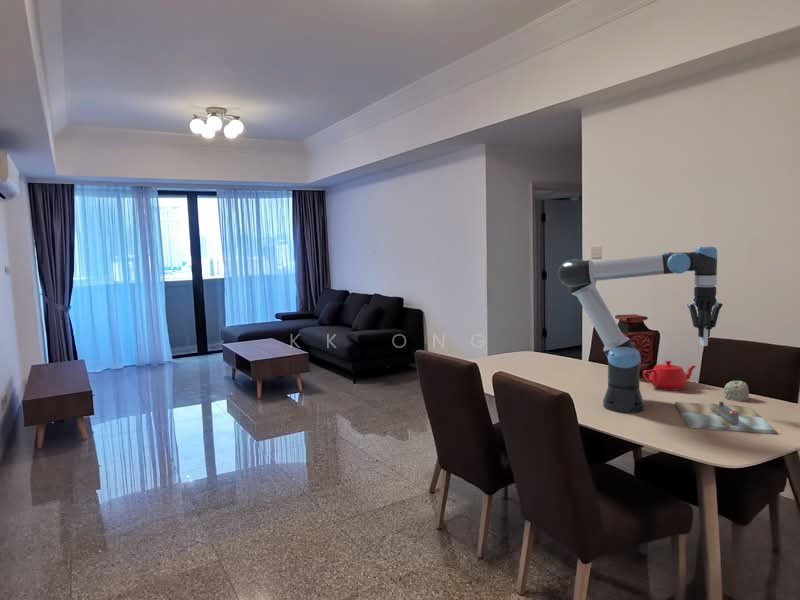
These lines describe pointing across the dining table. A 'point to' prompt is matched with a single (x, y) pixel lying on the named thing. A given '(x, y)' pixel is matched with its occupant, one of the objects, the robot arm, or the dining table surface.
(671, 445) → the dining table surface
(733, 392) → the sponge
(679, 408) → the lock board
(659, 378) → the teapot
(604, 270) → the robot arm
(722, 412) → the lever
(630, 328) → the vase
